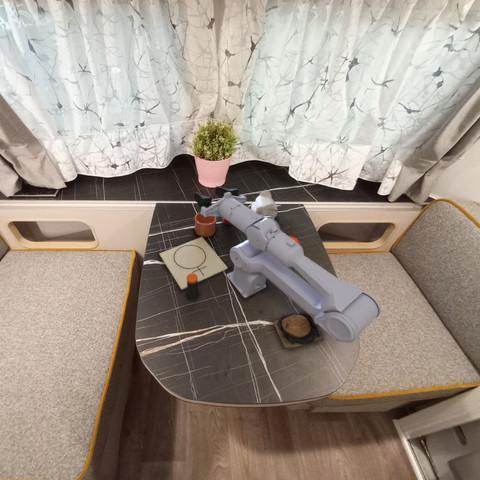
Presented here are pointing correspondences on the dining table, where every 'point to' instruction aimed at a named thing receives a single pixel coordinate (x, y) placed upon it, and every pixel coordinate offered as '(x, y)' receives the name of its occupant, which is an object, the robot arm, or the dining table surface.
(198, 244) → the drawing pad
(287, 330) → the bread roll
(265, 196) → the elephant figurine
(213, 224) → the pen pot
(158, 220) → the dining table surface
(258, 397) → the dining table surface
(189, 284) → the marker
